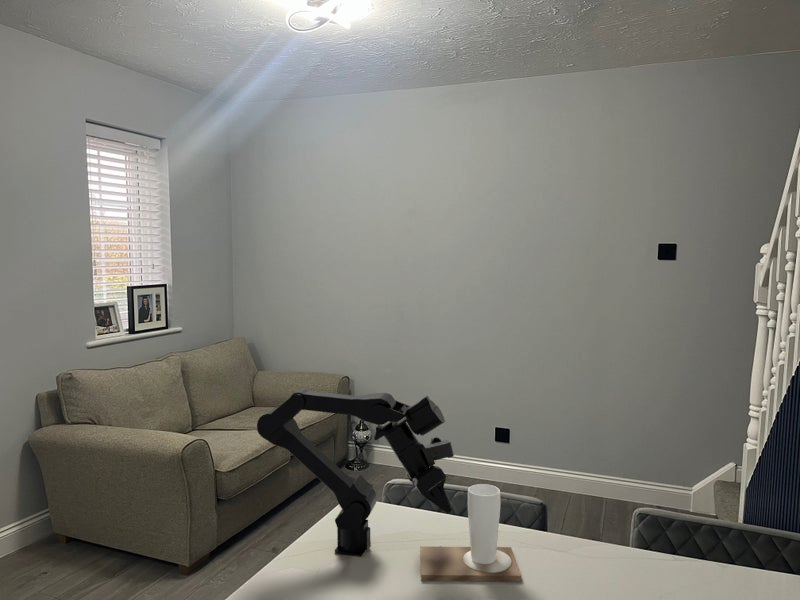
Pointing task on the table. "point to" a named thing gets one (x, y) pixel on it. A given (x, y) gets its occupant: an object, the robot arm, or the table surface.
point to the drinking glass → (483, 522)
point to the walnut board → (466, 565)
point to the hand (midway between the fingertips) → (445, 507)
